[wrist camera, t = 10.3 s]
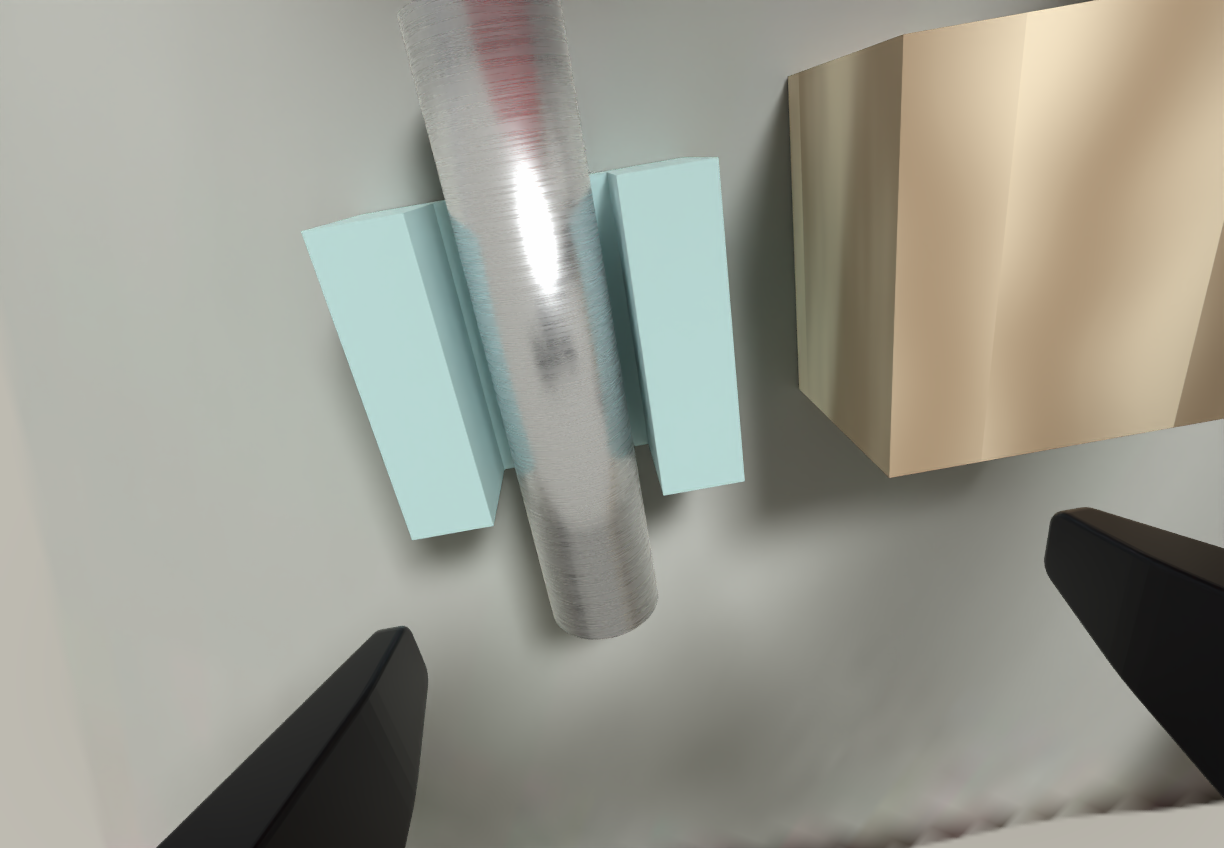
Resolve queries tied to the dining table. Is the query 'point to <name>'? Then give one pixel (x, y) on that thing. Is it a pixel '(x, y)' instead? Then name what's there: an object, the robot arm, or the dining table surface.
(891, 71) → the open beige box
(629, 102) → the dining table surface
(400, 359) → the cradle
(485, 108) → the axle
